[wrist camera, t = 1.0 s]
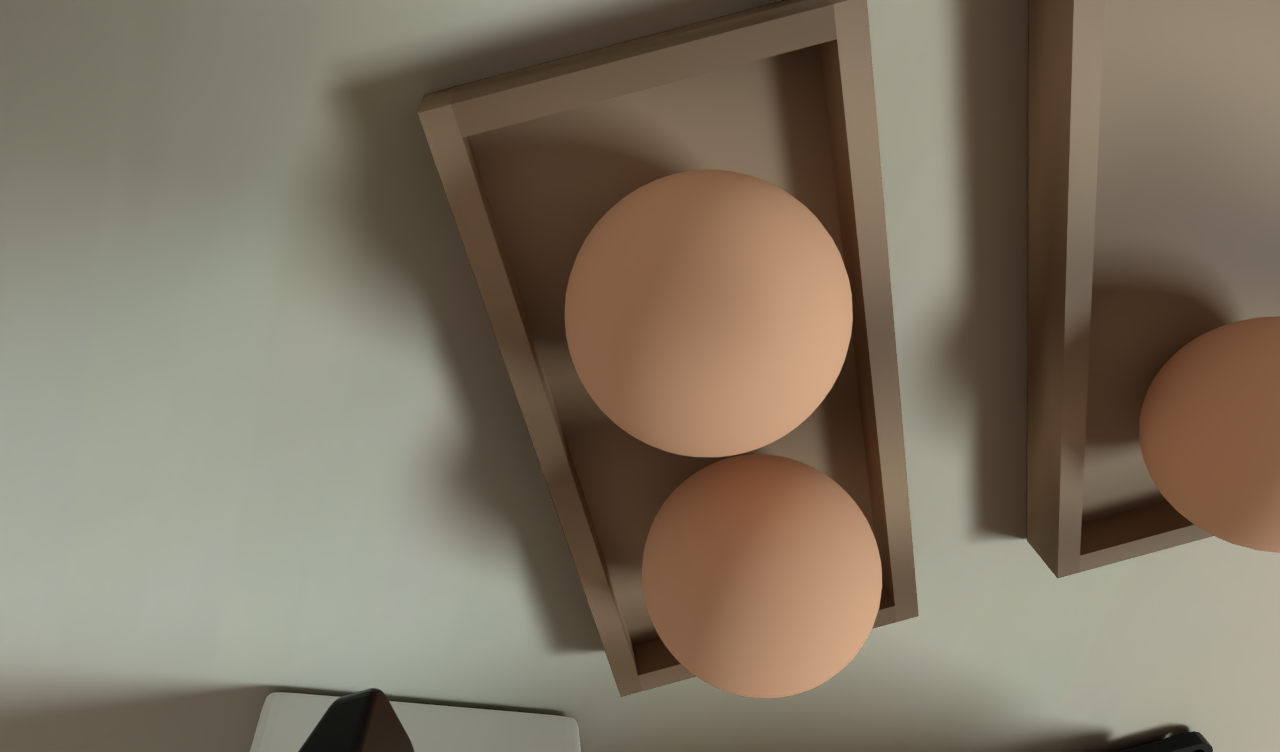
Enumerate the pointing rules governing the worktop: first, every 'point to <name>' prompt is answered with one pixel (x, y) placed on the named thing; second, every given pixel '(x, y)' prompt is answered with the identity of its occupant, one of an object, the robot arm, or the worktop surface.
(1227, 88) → the trough
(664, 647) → the trough
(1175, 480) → the ball
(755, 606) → the ball
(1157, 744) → the robot arm
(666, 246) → the ball
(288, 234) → the worktop surface
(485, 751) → the milk carton
